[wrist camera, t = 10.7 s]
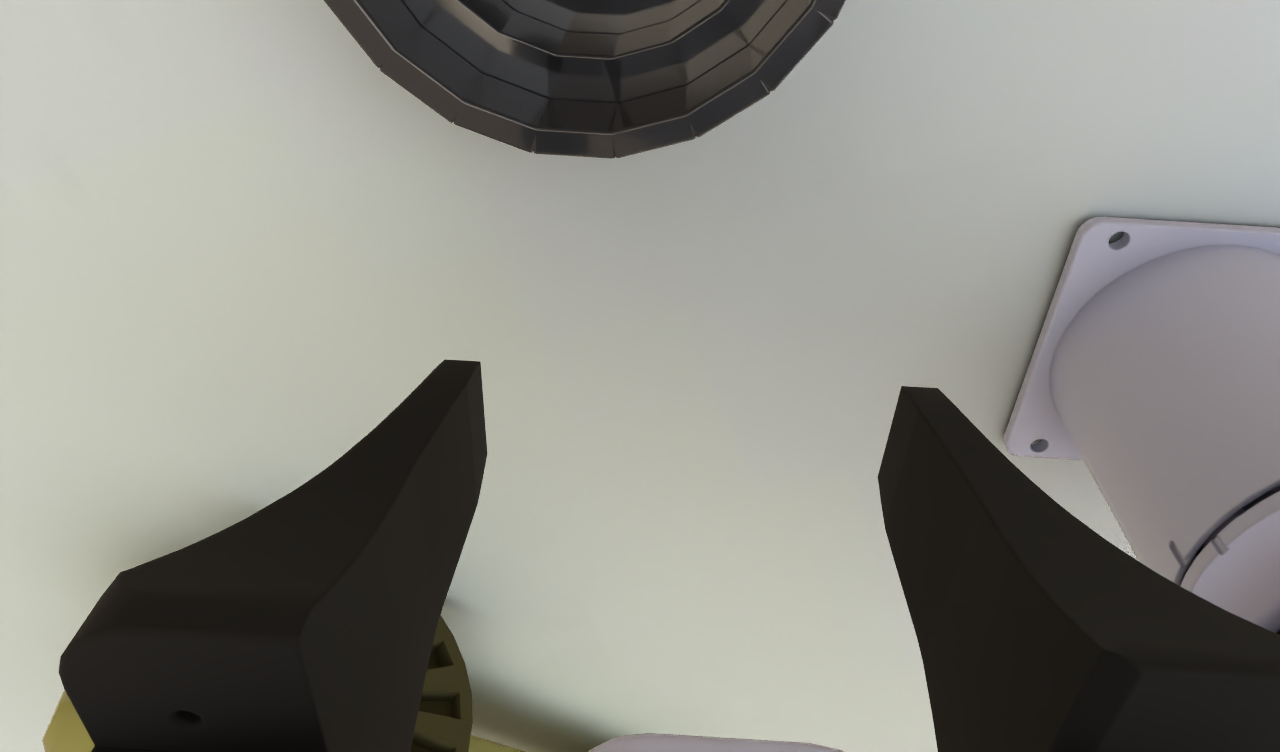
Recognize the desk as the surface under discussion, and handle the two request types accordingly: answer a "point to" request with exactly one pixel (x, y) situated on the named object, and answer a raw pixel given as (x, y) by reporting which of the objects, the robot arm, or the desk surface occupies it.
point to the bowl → (587, 64)
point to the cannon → (440, 724)
